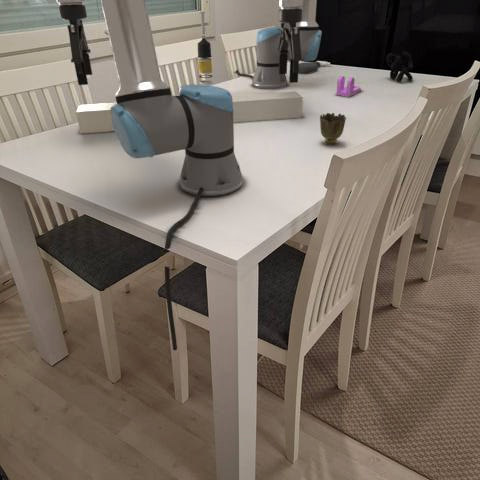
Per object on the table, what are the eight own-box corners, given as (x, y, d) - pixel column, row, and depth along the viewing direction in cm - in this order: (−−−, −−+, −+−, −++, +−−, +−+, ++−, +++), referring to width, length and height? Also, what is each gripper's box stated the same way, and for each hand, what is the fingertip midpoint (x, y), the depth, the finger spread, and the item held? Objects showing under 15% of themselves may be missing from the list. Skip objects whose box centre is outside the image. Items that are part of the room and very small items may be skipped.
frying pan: (288, 71, 219) (314, 64, 235) (307, 74, 213) (332, 66, 229) (288, 65, 217) (314, 58, 233) (307, 68, 211) (333, 60, 228)
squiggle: (400, 92, 202) (376, 71, 205) (417, 76, 202) (392, 56, 205) (405, 81, 191) (380, 59, 194) (423, 64, 191) (397, 42, 194)
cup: (314, 144, 132) (316, 118, 127) (322, 137, 137) (324, 111, 133) (339, 148, 129) (341, 121, 124) (346, 140, 134) (349, 114, 130)
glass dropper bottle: (214, 91, 188) (211, 12, 172) (202, 93, 186) (197, 13, 170) (210, 88, 192) (206, 11, 176) (198, 90, 190) (193, 11, 175)
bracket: (349, 96, 177) (351, 78, 174) (336, 94, 180) (337, 76, 177) (362, 90, 186) (364, 72, 182) (350, 88, 189) (352, 71, 185)
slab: (80, 133, 145) (76, 112, 141) (83, 125, 152) (79, 104, 148) (301, 117, 155) (302, 97, 152) (294, 110, 163) (295, 91, 159)
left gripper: (79, 7, 120) (94, 88, 131) (89, 0, 140) (101, 70, 152) (50, 8, 118) (67, 89, 130) (64, 0, 139) (78, 71, 151)
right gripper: (314, 11, 131) (309, 85, 142) (291, 4, 151) (288, 70, 163) (289, 12, 129) (287, 87, 141) (269, 5, 150) (268, 71, 162)
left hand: (85, 79), depth 141 cm, fingers open, 13 cm apart
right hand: (287, 78), depth 152 cm, fingers open, 13 cm apart
